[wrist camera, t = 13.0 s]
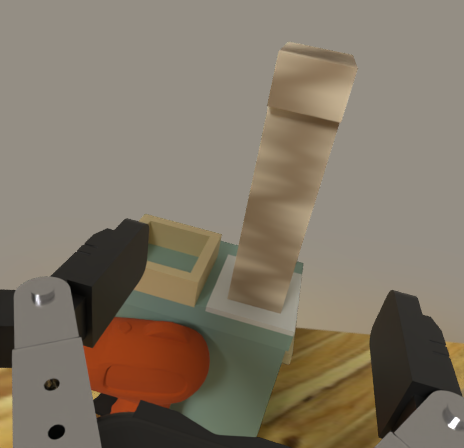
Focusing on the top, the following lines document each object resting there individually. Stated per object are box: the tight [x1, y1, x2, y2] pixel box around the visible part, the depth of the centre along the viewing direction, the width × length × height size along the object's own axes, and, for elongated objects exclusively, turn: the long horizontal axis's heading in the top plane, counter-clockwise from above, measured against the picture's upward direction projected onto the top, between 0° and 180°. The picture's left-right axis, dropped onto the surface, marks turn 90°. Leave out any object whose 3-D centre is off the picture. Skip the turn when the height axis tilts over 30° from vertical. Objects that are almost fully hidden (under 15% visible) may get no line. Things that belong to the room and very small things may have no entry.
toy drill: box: [83, 317, 210, 416], centre depth 27 cm, size 5×19×15 cm, turn 96°
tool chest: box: [115, 214, 303, 437], centre depth 32 cm, size 14×8×16 cm, turn 77°
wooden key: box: [227, 42, 358, 314], centre depth 24 cm, size 4×5×15 cm
